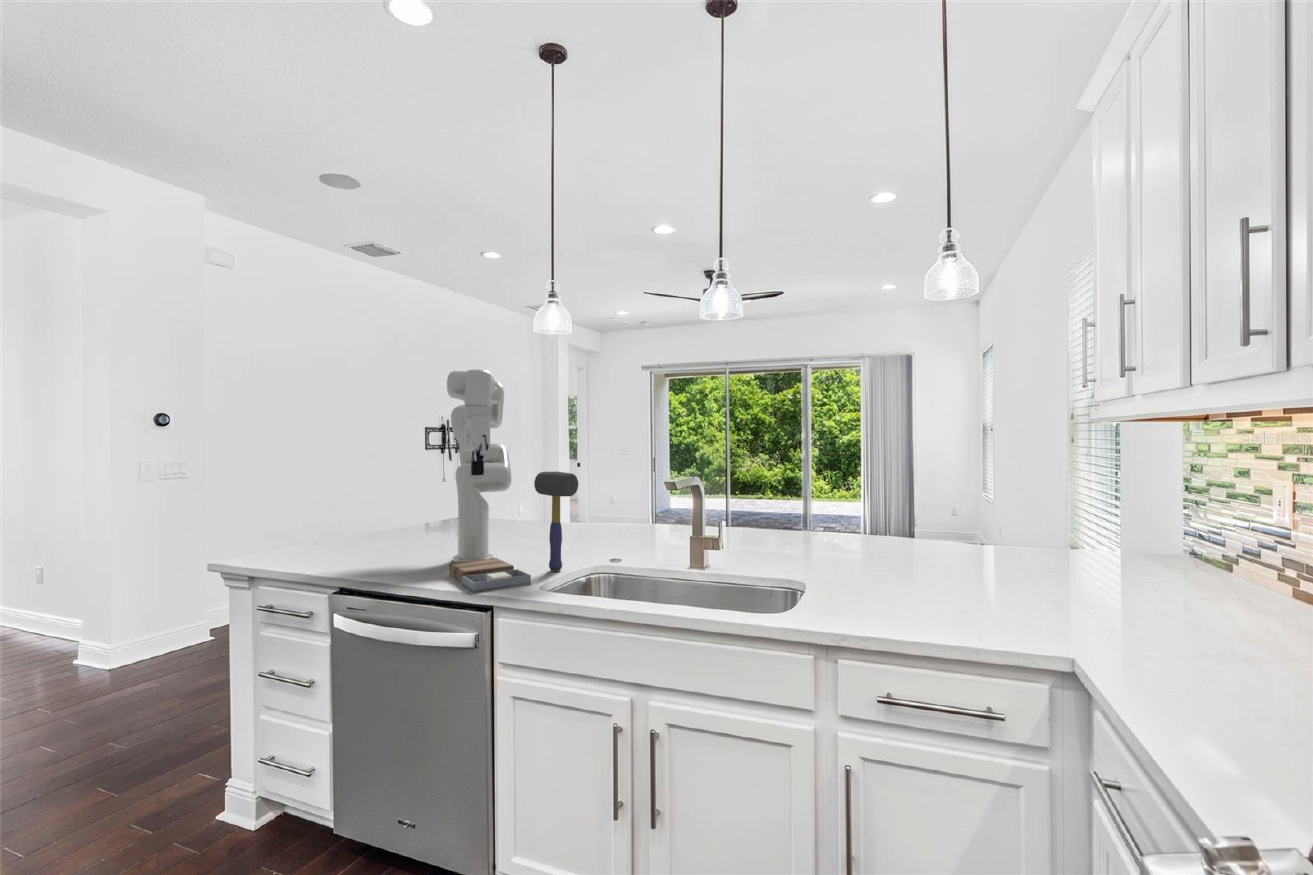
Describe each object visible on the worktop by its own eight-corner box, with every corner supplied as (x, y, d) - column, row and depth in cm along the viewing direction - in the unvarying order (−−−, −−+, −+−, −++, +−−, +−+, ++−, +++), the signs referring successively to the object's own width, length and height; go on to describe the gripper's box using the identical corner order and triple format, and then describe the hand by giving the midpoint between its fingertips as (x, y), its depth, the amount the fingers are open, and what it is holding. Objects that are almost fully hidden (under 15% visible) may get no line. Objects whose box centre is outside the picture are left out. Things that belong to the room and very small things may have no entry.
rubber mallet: (579, 571, 186) (580, 471, 186) (563, 576, 179) (564, 472, 179) (547, 566, 192) (548, 470, 192) (531, 570, 186) (532, 471, 186)
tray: (461, 585, 167) (462, 576, 167) (517, 577, 177) (517, 569, 177) (473, 592, 160) (473, 582, 160) (530, 584, 169) (530, 575, 169)
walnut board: (449, 575, 179) (449, 563, 179) (495, 569, 187) (495, 557, 187) (464, 584, 168) (465, 571, 168) (513, 578, 176) (513, 565, 176)
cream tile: (493, 577, 164) (493, 587, 164) (511, 575, 167) (511, 584, 167) (486, 574, 168) (486, 583, 168) (504, 572, 171) (504, 581, 171)
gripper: (456, 412, 184) (456, 473, 184) (474, 411, 172) (473, 477, 172) (481, 413, 189) (480, 473, 189) (499, 412, 177) (499, 476, 177)
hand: (477, 474), depth 181 cm, fingers closed
